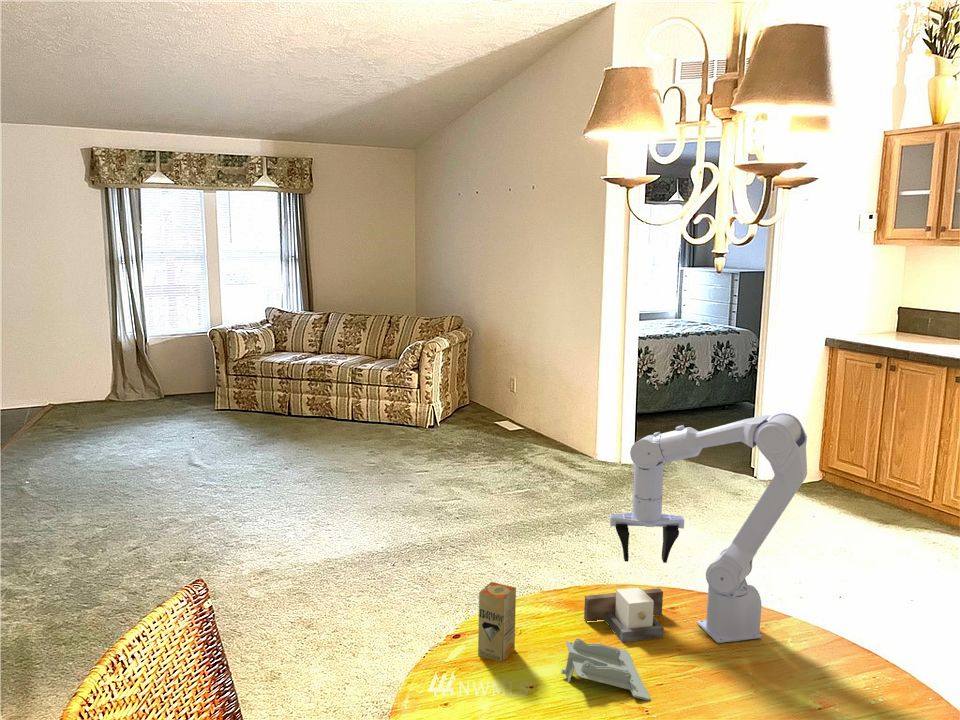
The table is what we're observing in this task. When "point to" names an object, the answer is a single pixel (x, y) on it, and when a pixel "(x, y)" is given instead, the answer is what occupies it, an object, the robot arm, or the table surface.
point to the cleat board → (605, 610)
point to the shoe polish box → (496, 621)
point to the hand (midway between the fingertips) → (645, 560)
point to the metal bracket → (604, 666)
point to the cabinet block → (634, 608)
